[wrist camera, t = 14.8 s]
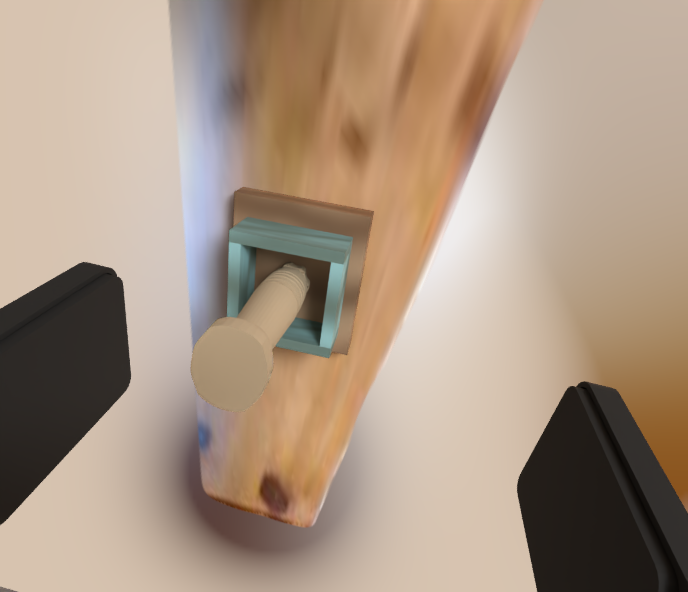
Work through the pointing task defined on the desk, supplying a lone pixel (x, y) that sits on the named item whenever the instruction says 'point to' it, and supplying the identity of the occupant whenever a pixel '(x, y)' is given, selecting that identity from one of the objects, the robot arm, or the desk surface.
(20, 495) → the robot arm
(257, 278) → the teal open box
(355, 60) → the desk surface
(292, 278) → the handle
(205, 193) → the desk surface
